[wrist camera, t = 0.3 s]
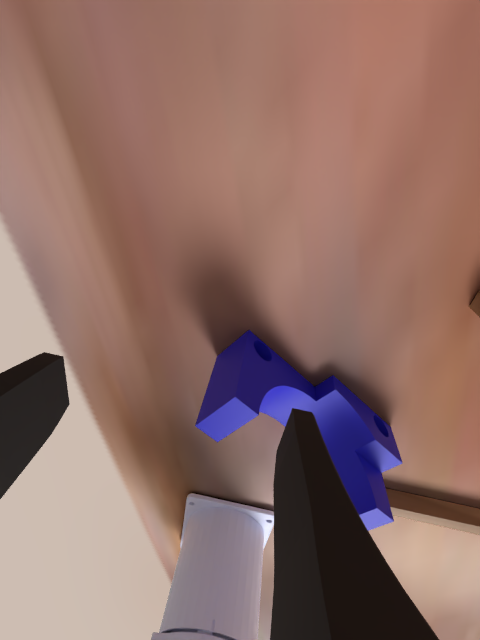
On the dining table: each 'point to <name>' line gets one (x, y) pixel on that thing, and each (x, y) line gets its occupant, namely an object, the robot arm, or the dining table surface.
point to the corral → (434, 508)
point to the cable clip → (296, 392)
